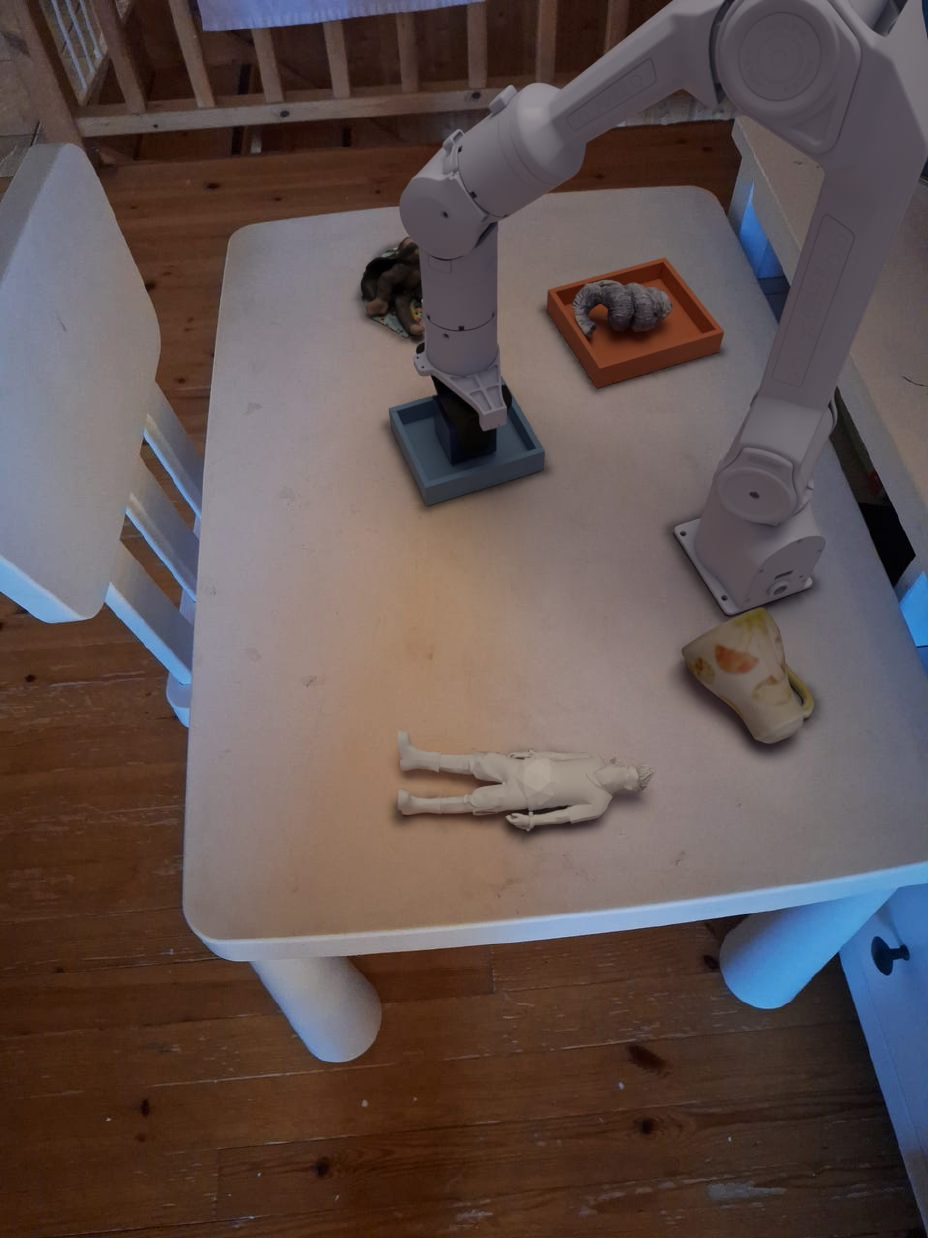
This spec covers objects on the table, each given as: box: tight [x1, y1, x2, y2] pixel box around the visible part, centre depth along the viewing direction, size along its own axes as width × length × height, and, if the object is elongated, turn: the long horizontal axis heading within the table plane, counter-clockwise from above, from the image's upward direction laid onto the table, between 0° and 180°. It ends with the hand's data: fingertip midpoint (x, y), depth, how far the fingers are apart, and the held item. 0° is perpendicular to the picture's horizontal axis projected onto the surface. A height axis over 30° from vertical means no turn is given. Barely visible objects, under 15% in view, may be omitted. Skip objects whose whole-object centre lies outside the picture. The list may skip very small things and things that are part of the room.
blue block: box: [432, 391, 497, 465], centre depth 80 cm, size 4×4×4 cm
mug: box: [680, 606, 815, 744], centre depth 67 cm, size 8×10×10 cm
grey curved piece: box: [572, 280, 673, 336], centre depth 88 cm, size 5×5×10 cm
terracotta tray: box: [546, 256, 725, 389], centre depth 90 cm, size 12×13×2 cm
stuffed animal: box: [360, 236, 425, 338], centre depth 94 cm, size 12×10×12 cm
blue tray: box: [388, 375, 546, 507], centre depth 82 cm, size 10×11×2 cm
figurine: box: [396, 729, 656, 832], centre depth 64 cm, size 7×4×18 cm
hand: (465, 430), depth 81 cm, fingers closed on blue block, 4 cm apart
